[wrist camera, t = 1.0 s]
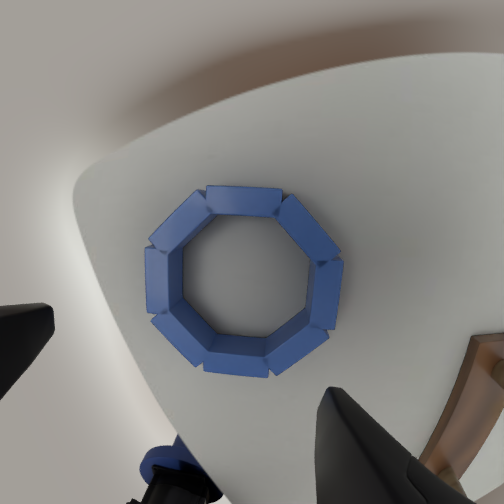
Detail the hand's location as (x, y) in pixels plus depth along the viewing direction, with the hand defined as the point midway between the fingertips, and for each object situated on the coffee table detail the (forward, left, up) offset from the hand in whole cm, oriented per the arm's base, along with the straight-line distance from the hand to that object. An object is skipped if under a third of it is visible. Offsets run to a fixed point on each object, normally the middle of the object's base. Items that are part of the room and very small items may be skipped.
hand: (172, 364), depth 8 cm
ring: (+1, 0, -12) cm, 12 cm away
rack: (+24, -14, -12) cm, 30 cm away
